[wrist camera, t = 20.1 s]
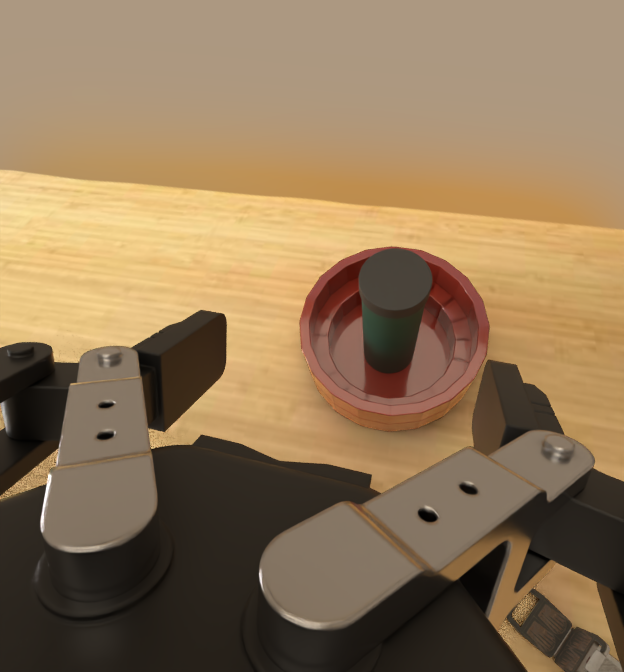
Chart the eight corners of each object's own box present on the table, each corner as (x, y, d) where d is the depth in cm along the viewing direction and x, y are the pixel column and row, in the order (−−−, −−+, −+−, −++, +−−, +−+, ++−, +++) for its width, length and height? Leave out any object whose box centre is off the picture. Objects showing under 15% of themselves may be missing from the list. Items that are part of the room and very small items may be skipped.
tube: (419, 331, 40) (437, 252, 29) (411, 379, 38) (426, 316, 27) (367, 322, 41) (366, 243, 30) (357, 369, 39) (351, 304, 28)
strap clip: (641, 683, 29) (683, 705, 25) (617, 725, 28) (656, 753, 25) (525, 580, 32) (546, 586, 28) (500, 616, 31) (518, 626, 28)
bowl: (480, 295, 42) (496, 259, 36) (462, 450, 36) (478, 434, 31) (329, 273, 45) (323, 236, 39) (291, 412, 39) (279, 392, 34)
